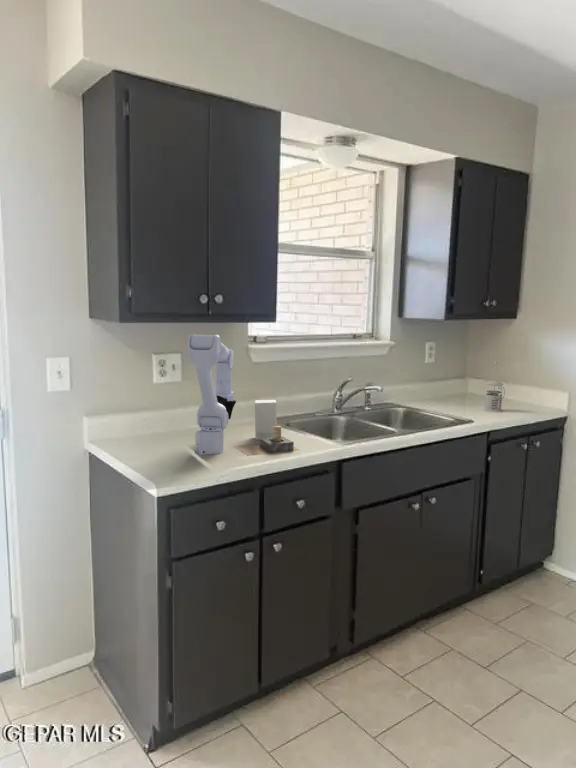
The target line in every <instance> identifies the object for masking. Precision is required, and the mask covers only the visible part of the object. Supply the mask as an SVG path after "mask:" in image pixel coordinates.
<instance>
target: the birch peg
mask: <svg viewBox="0 0 576 768" xmlns="http://www.w3.org/2000/svg"><path fill="white" fill-rule="evenodd" d="M281 437H282V425H277V426H273V442H281Z"/></svg>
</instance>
